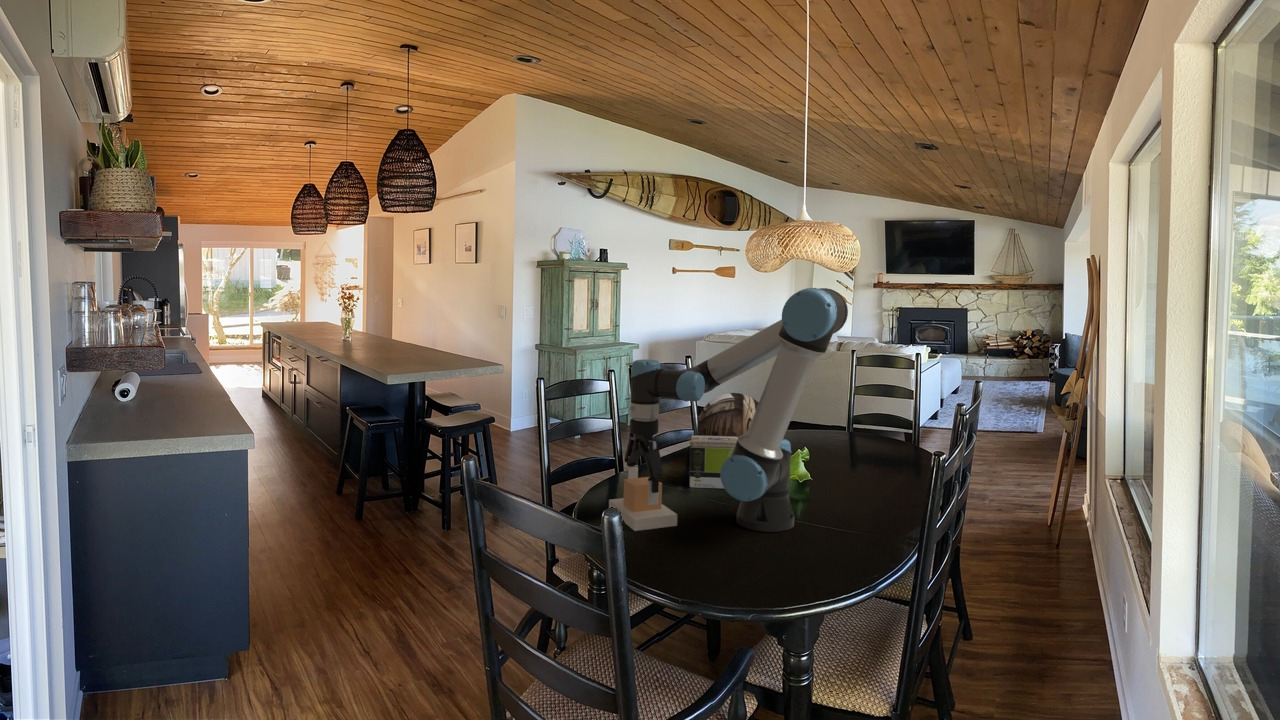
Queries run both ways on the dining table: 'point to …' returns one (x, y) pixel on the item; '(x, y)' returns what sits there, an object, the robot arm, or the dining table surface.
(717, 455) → the tea box
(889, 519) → the dining table surface
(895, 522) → the dining table surface
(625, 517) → the socket plate
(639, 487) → the plug
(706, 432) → the sphere
